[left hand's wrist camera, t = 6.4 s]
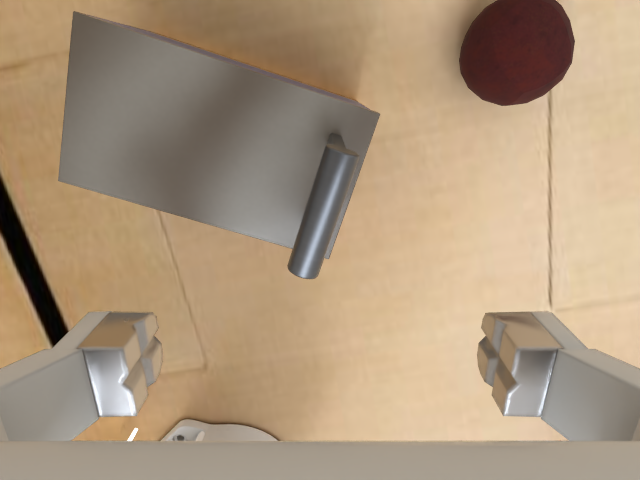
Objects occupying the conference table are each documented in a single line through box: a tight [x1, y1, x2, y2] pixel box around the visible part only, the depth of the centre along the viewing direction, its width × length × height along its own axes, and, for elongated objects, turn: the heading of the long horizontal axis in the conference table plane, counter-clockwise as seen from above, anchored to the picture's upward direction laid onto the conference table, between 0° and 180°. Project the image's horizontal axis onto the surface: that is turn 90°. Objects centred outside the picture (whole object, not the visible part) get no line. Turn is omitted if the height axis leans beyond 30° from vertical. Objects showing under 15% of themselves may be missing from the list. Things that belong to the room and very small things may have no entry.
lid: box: [58, 11, 380, 279], centre depth 22 cm, size 18×10×8 cm, turn 72°
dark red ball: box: [459, 0, 575, 106], centre depth 30 cm, size 7×8×7 cm
